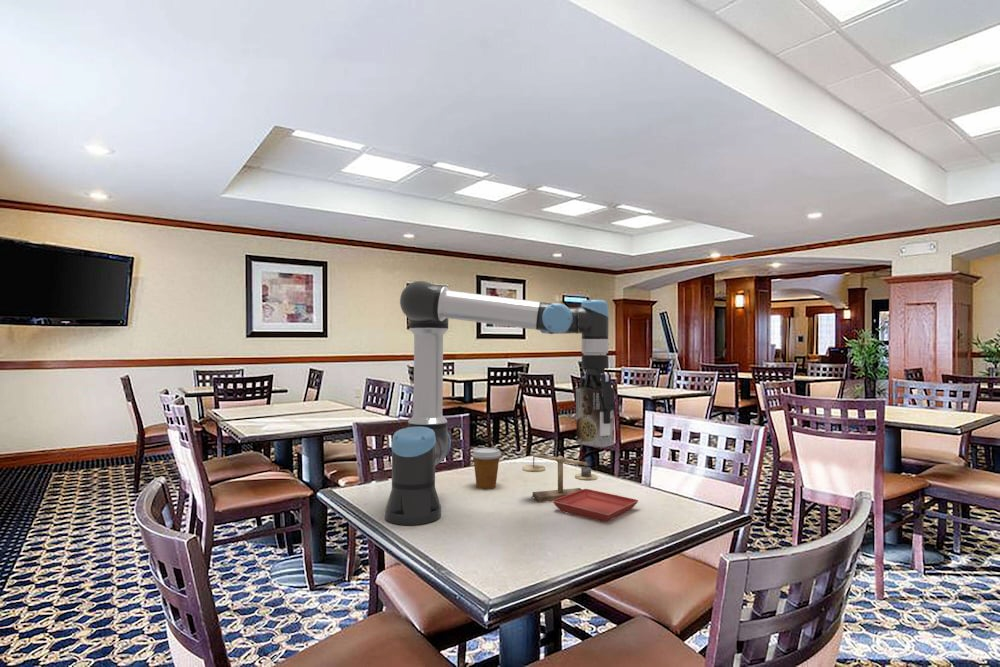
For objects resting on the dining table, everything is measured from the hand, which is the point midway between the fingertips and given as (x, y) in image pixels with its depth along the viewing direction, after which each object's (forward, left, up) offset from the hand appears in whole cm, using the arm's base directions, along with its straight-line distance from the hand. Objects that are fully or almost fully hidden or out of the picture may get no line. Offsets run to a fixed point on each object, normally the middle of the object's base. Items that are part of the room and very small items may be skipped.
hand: (595, 432), depth 155 cm
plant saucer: (0, 0, -23) cm, 23 cm away
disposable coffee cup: (-22, +34, -22) cm, 46 cm away
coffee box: (0, 0, -4) cm, 4 cm away
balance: (-4, +15, -22) cm, 27 cm away
